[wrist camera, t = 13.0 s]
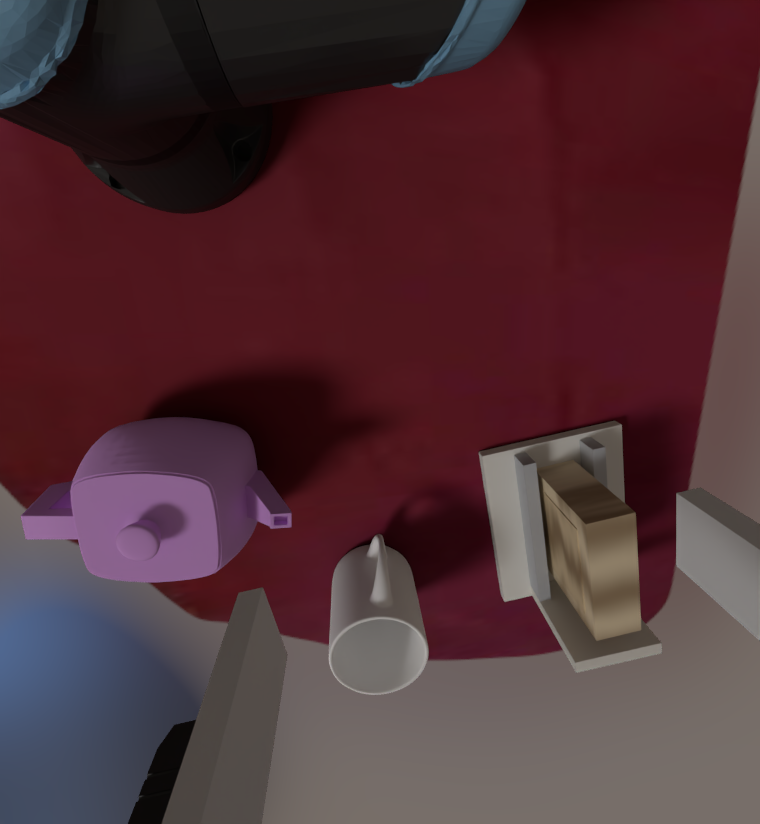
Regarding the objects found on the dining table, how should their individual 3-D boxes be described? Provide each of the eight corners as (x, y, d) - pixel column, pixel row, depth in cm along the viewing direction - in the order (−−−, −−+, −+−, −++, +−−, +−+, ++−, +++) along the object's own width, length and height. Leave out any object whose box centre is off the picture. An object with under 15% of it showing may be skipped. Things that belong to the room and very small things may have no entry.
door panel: (533, 469, 44) (584, 524, 34) (574, 459, 44) (636, 512, 34) (545, 567, 48) (595, 641, 38) (583, 558, 48) (642, 629, 38)
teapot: (101, 524, 44) (8, 621, 32) (79, 404, 40) (-37, 463, 28) (305, 521, 45) (289, 613, 33) (301, 406, 42) (283, 462, 30)
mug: (419, 514, 46) (439, 583, 36) (407, 607, 50) (422, 695, 39) (336, 510, 45) (333, 581, 35) (330, 606, 49) (326, 695, 39)
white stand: (478, 451, 44) (520, 509, 34) (614, 420, 44) (699, 468, 34) (500, 594, 50) (542, 682, 39) (621, 566, 50) (695, 647, 39)
